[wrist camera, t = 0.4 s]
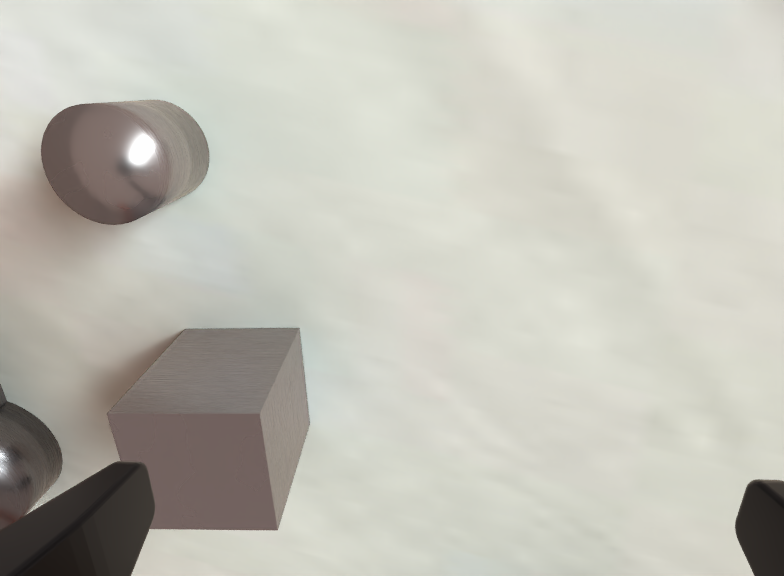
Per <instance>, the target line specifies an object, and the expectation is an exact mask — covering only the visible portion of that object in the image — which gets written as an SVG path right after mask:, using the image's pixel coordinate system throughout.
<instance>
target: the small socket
mask: <svg viewBox="0 0 784 576" xmlns="http://www.w3.org/2000/svg"><path fill="white" fill-rule="evenodd" d="M41 155H42V163H43V167H44V170H45V173H46V176H47V178H48V180H49V182H50V184H51V186H52V188H53V189H54V191H55V192H56V193H57V195H58V196H59V197H60V198H61V199H62V201H63V202H64V203H65V204H66V205H68V206H69V207H70V208H71V209H72V210H74V211H75V212H77V213H78V214H80V215H82V216H83V217H85V218H87V219H90V220H92V221H95V222H98V223H103V224H111V225H117V224H125V223H129V222H132V221H134V220H136V219H138V218H140V217H142V216H145V215H147V214H149V213H151V212H153V211H155V210H157V209H159V208H161V207H163V206H165V205H167V204H169V203H171V202H173V201H175V200H177V199H179V198H181V197H183V196H185V195H187V194H189V193H191V192H192V191H194V190H195V189H196V188H197V187H198V186H199V185H200V184H201V183H202V181H203V180H204V178H205V176H206V174H207V171H208V167H209V148H208V144H207V141H206V138H205V136H204V133H203V131H202V130H201V128H200V126H199V125H198V124H197V122H196V121H195V120H194V119H193V118H192V117H191V116H190V115H189V114H188V113H187V112H186V111H184V110H183V109H181V108H180V107H178V106H176V105H174V104H172V103H169V102H166V101H161V100H140V101H124V102H108V103H92V104H80V105H75V106H71V107H69V108H66V109H64V110H63V111H61V112H60V113H58V114H57V115H56V116H55V117H54V118H53V119H52V120H51V121H50V123H49V124H48V126H47V128H46V130H45V132H44V135H43V139H42V145H41Z"/></svg>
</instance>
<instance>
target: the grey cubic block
mask: <svg viewBox="0 0 784 576" xmlns="http://www.w3.org/2000/svg"><path fill="white" fill-rule="evenodd" d="M107 415H108V419H109V422H110V426H111V429H112V433H113V436H114V439H115V443H116V446H117V450H118V453H119V456H120V460H121V461H134V462H142V463H144V464H145V465H146V467H147V469H148V473H149V477H150V482H151V486H152V491H153V495H154V500H155V514H154V518H153V521H152V524H151V526H150V529H207V530H278V528H279V524H280V521H281V518H282V515H283V511H284V508H285V505H286V501H287V498H288V495H289V491H290V488H291V485H292V482H293V478H294V475H295V472H296V468H297V465H298V462H299V458H300V455H301V452H302V448H303V445H304V442H305V439H306V435H307V432H308V429H309V425H310V421H309V412H308V402H307V393H306V384H305V375H304V366H303V357H302V348H301V339H300V330H299V328H256V329H185V330H184V331H183V332H182V333H181V334H180V335H179V336H178V337H177V338H176V339H175V341H174V342H173V343H172V344H171V345H170V346H169V347H168V348H167V349H166V350H165V351H164V352H163V354H162V355H161V356H160V357H159V358H158V359H157V360H156V361H155V362H154V363H153V364H152V365H151V366H150V368H149V369H148V370H147V371H146V372H145V373H144V374H143V375H142V376H141V377H140V378H139V379H138V381H137V382H136V383H135V384H134V385H133V386H132V387H131V388H130V389H129V390H128V391H127V392H126V393H125V395H124V396H123V397H122V398H121V399H120V400H119V401H118V402H117V403H116V404H115V405H114V406H113V408H112V409H111V410H110V411H109V412H108V413H107Z"/></svg>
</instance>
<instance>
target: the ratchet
mask: <svg viewBox="0 0 784 576" xmlns="http://www.w3.org/2000/svg"><path fill="white" fill-rule="evenodd" d="M62 462H63V460H62V453H61V450H60V447H59V444H58V442H57V440H56V439H55V437H54V435H53V434H52V433H51V431H50V430H49V429H48V428H47V427H46V425H45V424H44V423H43V422H41V421H40V420H39V419H38V418H37V417H35V416H34V415H33V414H31V413H30V412H28V411H27V410H25V409H23V408H21V407H19V406H17V405H15V404H13V403H10V402H7V400H6V397H5V395H4V392H3V390H2V387H1V384H0V530H1V529H3V528H5V527H7V526H8V525H10V524H12V523H13V522H15V521H17V520H18V519H20V518H22V517H23V516H25V515H26V514H27V513H28V512H29V511H30V509H31V508H32V507H33V506H34V505H35V504H36V503H37V502H38V501H39V499H40V498H41V497H42V496H43V495H44V494H45V493H46V492H47V490H48V489H49V488H50V487H51V486H52V485H53V484H54V483H55V481H56V480H57V479H58V477H59V475H60V473H61V470H62Z"/></svg>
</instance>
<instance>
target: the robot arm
mask: <svg viewBox="0 0 784 576" xmlns="http://www.w3.org/2000/svg"><path fill="white" fill-rule="evenodd" d="M154 514H155V500H154V495H153V491H152V486H151V482H150V477H149V473H148V469H147V467H146V465H145V464H144V463H142V462H134V461H119V462H114V463H113V464H111V465H109V466H107V467H106V468H104V469H102V470H101V471H99V472H97V473H96V474H94V475H92V476H91V477H89V478H87V479H85V480H84V481H82V482H80V483H79V484H77V485H75V486H74V487H72V488H70V489H69V490H67V491H65V492H64V493H62V494H60V495H59V496H57V497H55V498H54V499H52V500H50V501H49V502H47V503H45V504H44V505H42V506H40V507H38V508H37V509H35V510H33V511H32V512H30V513H28V514H27V515H25V516H23V517H22V518H20V519H18V520H17V521H15V522H13V523H12V524H10V525H8V526H7V527H5V528H3V529H1V530H0V576H131V574H132V572H133V569H134V567H135V564H136V562H137V559H138V557H139V554H140V551H141V549H142V546H143V544H144V541H145V539H146V536H147V534H148V531H149V529H150V526H151V524H152V521H153V518H154ZM735 529H736V535H737V538H738V541H739V543H740V545H741V548H742V550H743V552H744V554H745V556H746V558H747V561H748V563H749V565H750V567H751V569H752V571H753V573H754V576H784V481H780V480H753V481H751V482H750V483H749V484H748V485H747V487H746V490H745V493H744V496H743V500H742V503H741V506H740V509H739V512H738V515H737V518H736V523H735Z"/></svg>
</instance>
